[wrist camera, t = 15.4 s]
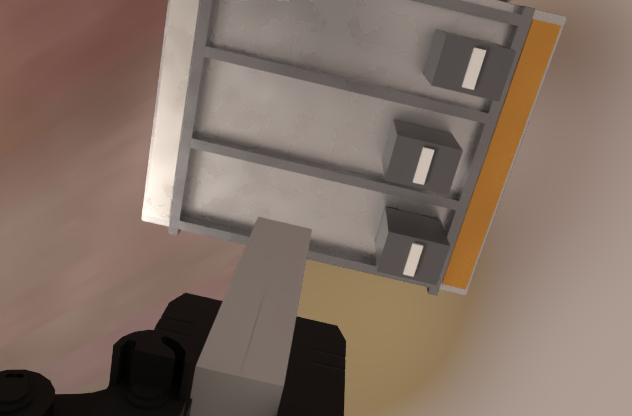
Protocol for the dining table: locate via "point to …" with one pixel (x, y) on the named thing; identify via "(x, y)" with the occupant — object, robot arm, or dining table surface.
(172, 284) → the dining table surface
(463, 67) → the breaker
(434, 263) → the breaker
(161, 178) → the panel
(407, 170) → the breaker mid
